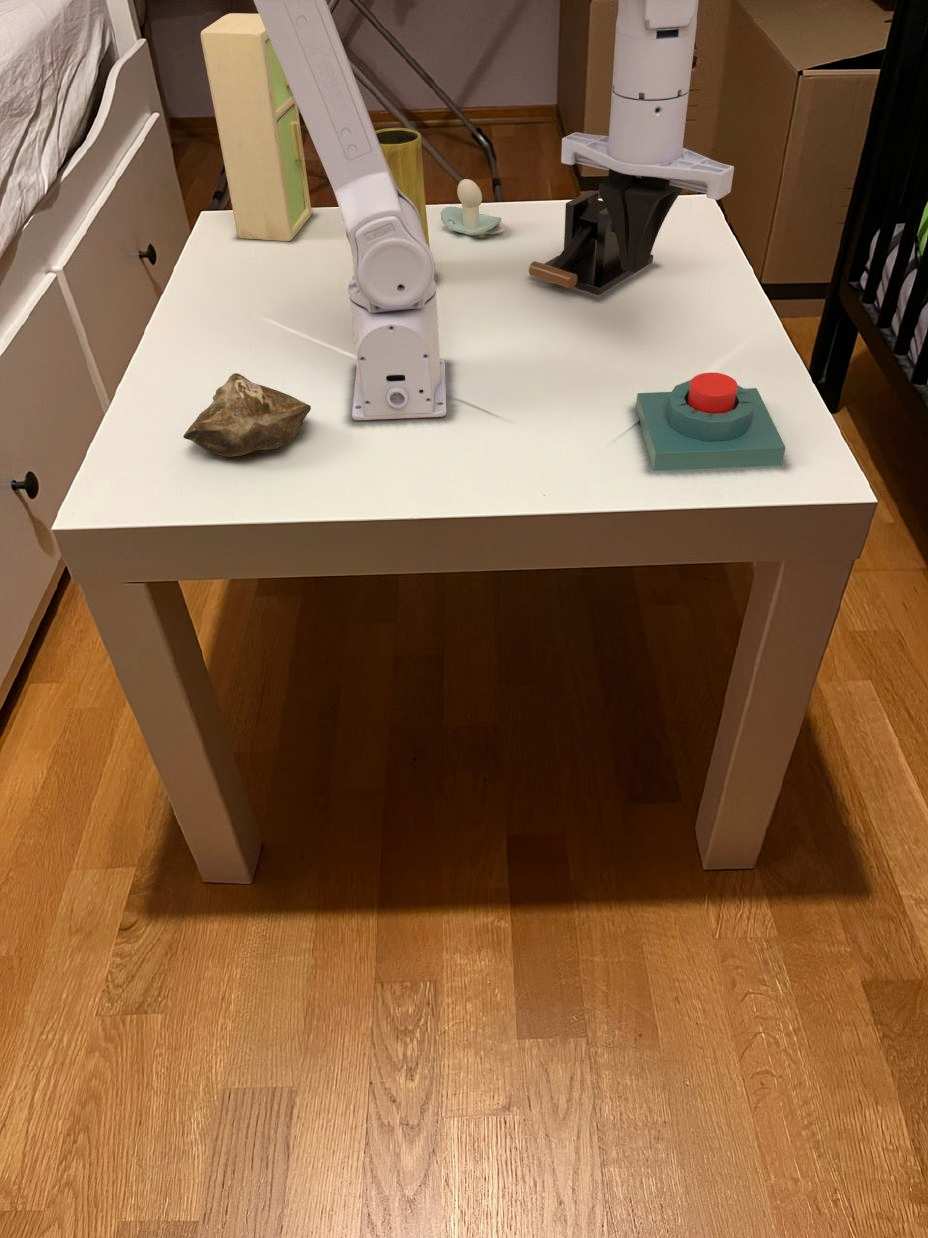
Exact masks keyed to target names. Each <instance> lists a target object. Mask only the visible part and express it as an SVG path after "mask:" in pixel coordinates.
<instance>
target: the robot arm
mask: <svg viewBox="0 0 928 1238" xmlns="http://www.w3.org/2000/svg"><path fill="white" fill-rule="evenodd" d="M252 1H253V3H254V5H255V7H256V8H255V9H256V10H257V12H258V14H259V15H260V17H261V20H262V22H263V24H264V27H265V29H266V31H267V34H268V36H269V39H270V41H271V43H272V46H273V48H274V50H275V53H276V55H277V58H278V60H279V62H280V65H281V67H282V69H283V72H284V74H285V77H286V79H287V81H288V84H289V86H290V88H291V91H292V93H293V96H294V98H295V100H296V103H297V105H298V111H299V113H300V114H301V117H302V119H303V121H304V124H305V126H306V130H307V131H308V134H309V135H310V136H309V137H310V138H311V140H312V143H313V145H314V148H315V150H316V152H317V154H318V157H319V159H320V162H321V164H322V167H323V169H324V172H325V174H326V176H327V178H328V180H329V183H330V185H331V188H332V190H333V194H334V196H335V199H336V202H337V205H338V208H339V212H340V214H341V218H342V221H343V225H344V227H345V232H346V238H347V240H348V243H349V246H350V253H351V258H352V266H353V267H352V271H353V273H352V278H351V280H349V282H348V285H347V288H348V289H347V291H348V299H349V307H350V316H351V325H352V333H353V341H354V350H355V358H356V371H355V380H354V390H353V400H352V411H351V417H352V419H353V420H355V421H372V420H392V419H393V420H394V419H396V420H399V419H418V418H420V419H421V418H440V417H445V416H446V415H447V389H446V388H447V387H446V386H447V385H446V384H447V383H446V360H445V359H444V358H442V357H441V355H440V340H439V339H440V338H439V320H438V319H439V318H438V317H439V316H438V302H437V285H436V284H437V283H436V282H437V281H436V280H435V272H436V264H435V263H436V262H435V259H434V255H433V252H432V251H431V248H430V249H429V247H428V245H427V243H426V240H425V237H424V234H423V231H422V225H421V218H420V215H419V212H418V210H417V208H416V206H415V205H414V204H413V202H412V201H411V200H410V199H409V198H408V197H406V196H405V195H404V194H403V193H402V192H401V191H400V190H399V188H398V187H397V185H396V183H395V181H394V179H393V176H392V173H391V171H390V168H389V166H388V164H387V161H386V159H385V157H384V154H383V152H382V149H381V146H380V144H379V141H378V138H377V136H376V133H375V131H376V130H375V128H374V125H373V122H372V119H371V117H370V114H369V112H368V109H367V107H366V104H365V102H364V101H365V100H364V98H363V95H362V93H361V90H360V88H359V85H358V83H357V80H356V77H355V75H354V72H353V69H352V66H351V64H350V61H349V58H348V55H347V53H346V50H345V48H344V45H343V41H342V39H341V37H340V34H339V32H338V29H337V27H336V23H335V21H334V18H333V16H332V13H331V11H330V7H329V5H328V3H327V0H252ZM699 1H700V0H618V6H617V7H618V8H617V12H618V13H617V16H616V17H617V18H616V21H615V34H614V37H615V38H614V53H613V54H614V55H613V68H612V82H611V83H612V85H611V96H610V110H609V111H610V112H609V113H610V115H609V127H608V135H600V134H589V133H583V132H578V131H575V132H573V133H571V134H569V135H567V136H564V137H562V138H561V153H560V154H561V156H560V163H561V164H565V165H568V166H573V165H576V164H579V165H583V166H588V167H592V168H596V169H600V170H605V171H608V174H607V175H608V176H606V180H604V181H603V182H601V183H599V186H598V193H599V194H598V196H599V197H600V199H601V201H603V202H604V204H605V206H606V208H607V211H608V213H609V215H610V218H611V221H612V224H613V227H614V230H615V234H616V238H617V243H618V248H619V254H620V260H621V266H622V269H623V270H627V271H630V272H634V274H636V273H637V272H639V271H641V270H643V269H644V268H646V267H647V266H649V265H648V261H649V258H650V254H651V255H652V251H653V248H654V245H655V243H656V240H657V237H658V235H659V232H660V230H661V228H662V226H663V224H664V221H665V219H666V217H667V215H668V214H669V212H670V210H671V208H672V207H673V205H674V203H675V202H676V200H677V199H678V197H679V195H681V193H682V191H683V190H684V189H685V190H689V191H694V192H698V193H701V194H704V195H705V194H706V198H708V199H710V200H714V201H715V200H716V201H719V200H721V199H722V198H724V197H726V196H727V195H728V194H730V193H731V191H732V184H733V180H734V179H733V178H734V172H735V167H734V165H729V164H725V163H722V162H719V161H716V160H713V159H712V158H709V157H707V156H704V155H702V154H699V153H697V152H695V151H693V150H690V149H688V148H685V147H684V140H685V139H684V138H685V131H686V121H687V112H688V105H689V104H688V103H689V95H690V86H691V77H692V69H693V61H694V52H695V43H696V34H697V26H698V25H697V24H698V18H697V17H698V9H699V3H700V2H699ZM635 272H636V273H635Z"/></svg>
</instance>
